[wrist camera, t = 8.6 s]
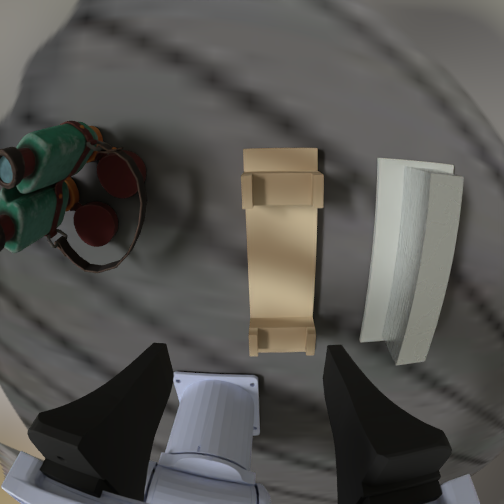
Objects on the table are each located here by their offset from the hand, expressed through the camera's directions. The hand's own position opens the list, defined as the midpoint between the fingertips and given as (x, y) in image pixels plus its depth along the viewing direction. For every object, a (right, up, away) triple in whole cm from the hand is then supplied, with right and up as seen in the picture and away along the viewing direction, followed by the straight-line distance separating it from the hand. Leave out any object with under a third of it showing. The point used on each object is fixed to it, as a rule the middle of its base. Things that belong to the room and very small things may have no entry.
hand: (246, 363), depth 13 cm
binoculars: (-11, +10, +8) cm, 17 cm away
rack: (+2, +4, +9) cm, 11 cm away
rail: (+12, +4, +8) cm, 16 cm away
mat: (+12, +4, +9) cm, 16 cm away
